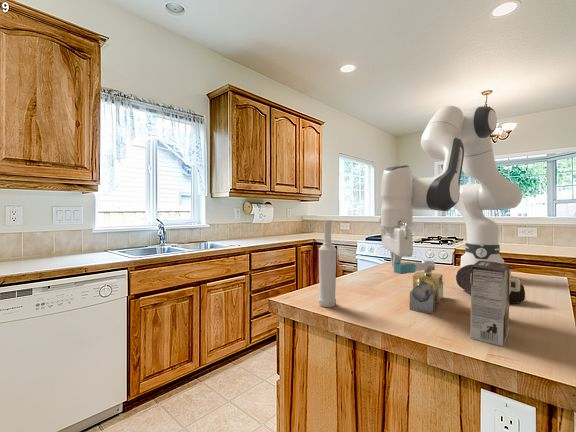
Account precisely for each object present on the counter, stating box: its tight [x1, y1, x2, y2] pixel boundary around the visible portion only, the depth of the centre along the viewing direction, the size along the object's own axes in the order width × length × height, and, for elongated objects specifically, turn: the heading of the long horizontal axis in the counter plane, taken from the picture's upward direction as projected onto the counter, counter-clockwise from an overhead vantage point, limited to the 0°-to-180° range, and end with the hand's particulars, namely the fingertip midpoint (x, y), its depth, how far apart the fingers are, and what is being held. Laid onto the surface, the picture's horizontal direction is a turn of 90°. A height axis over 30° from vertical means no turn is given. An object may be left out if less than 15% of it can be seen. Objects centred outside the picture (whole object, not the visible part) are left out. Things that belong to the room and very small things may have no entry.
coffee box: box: [469, 261, 511, 347], centre depth 68 cm, size 9×6×16 cm
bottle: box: [318, 219, 338, 308], centre depth 90 cm, size 5×5×25 cm
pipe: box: [455, 264, 526, 304], centre depth 99 cm, size 10×15×15 cm
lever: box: [393, 259, 436, 275], centre depth 90 cm, size 14×4×3 cm, turn 116°
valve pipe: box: [409, 270, 444, 315], centre depth 92 cm, size 20×7×10 cm, turn 146°
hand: (395, 267), depth 90 cm, fingers closed
